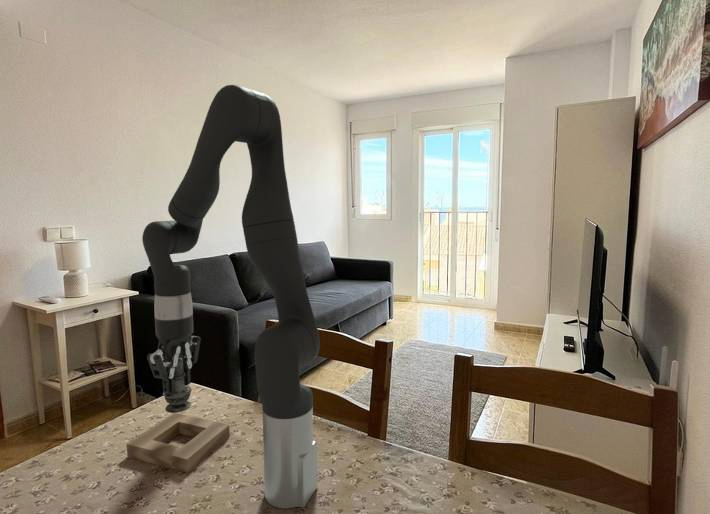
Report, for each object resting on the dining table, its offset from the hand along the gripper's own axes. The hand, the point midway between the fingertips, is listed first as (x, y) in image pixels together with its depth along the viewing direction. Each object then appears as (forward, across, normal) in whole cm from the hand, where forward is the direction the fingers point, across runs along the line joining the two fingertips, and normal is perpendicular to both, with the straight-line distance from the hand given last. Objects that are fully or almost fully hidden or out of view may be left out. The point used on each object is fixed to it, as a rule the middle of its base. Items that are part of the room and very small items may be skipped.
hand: (177, 388), depth 92 cm
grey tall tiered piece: (+4, 0, 0) cm, 4 cm away
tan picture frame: (+14, 0, 0) cm, 14 cm away
